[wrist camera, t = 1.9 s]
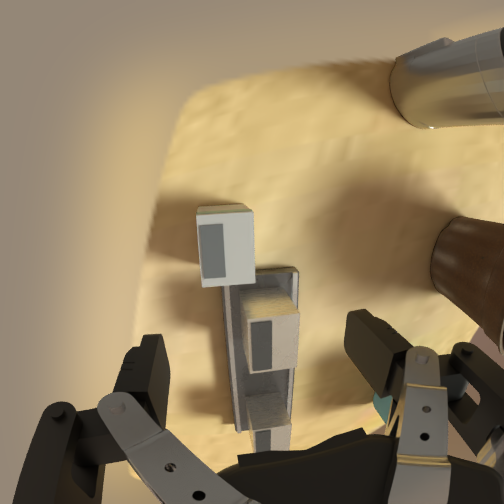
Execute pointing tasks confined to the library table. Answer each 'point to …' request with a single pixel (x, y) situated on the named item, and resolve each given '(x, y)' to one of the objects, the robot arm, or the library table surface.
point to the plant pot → (473, 272)
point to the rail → (263, 354)
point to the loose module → (226, 245)
